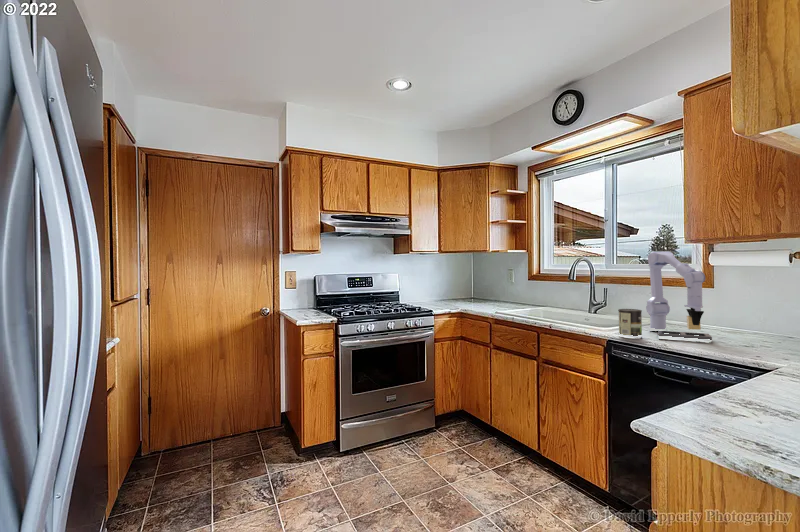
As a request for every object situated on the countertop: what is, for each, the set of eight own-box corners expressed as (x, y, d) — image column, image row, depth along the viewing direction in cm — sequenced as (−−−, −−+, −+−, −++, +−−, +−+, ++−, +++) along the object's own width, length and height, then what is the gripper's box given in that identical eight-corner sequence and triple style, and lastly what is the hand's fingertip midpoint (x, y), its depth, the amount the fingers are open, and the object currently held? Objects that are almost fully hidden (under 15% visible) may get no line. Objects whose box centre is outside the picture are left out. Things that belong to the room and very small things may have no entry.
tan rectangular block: (687, 327, 190) (686, 315, 190) (698, 328, 187) (698, 315, 187) (689, 329, 186) (688, 316, 186) (700, 329, 183) (700, 317, 183)
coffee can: (641, 336, 198) (641, 309, 198) (642, 340, 189) (641, 311, 189) (618, 334, 204) (618, 308, 204) (618, 338, 195) (617, 310, 195)
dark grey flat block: (658, 336, 198) (658, 330, 198) (708, 339, 187) (708, 333, 187) (659, 339, 190) (659, 333, 190) (712, 343, 179) (711, 337, 179)
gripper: (681, 295, 194) (682, 321, 195) (687, 297, 182) (687, 326, 182) (699, 295, 191) (699, 322, 191) (706, 297, 178) (706, 327, 178)
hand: (695, 324), depth 186 cm, fingers closed on tan rectangular block, 4 cm apart
